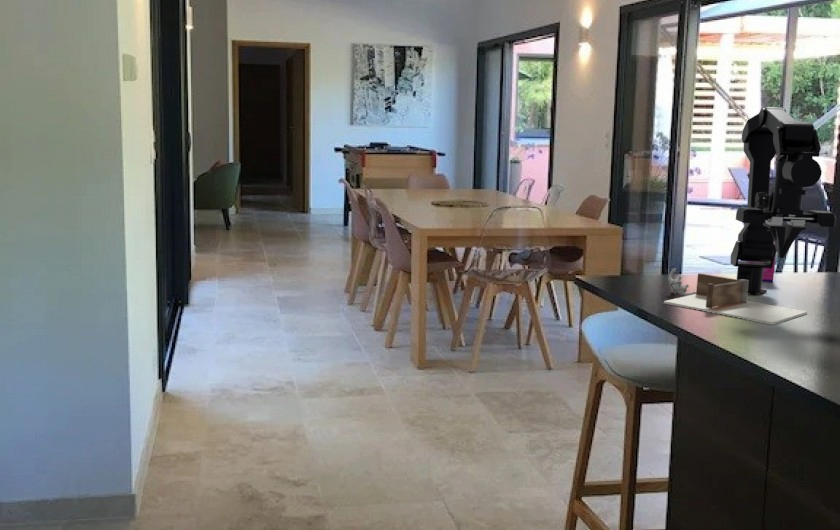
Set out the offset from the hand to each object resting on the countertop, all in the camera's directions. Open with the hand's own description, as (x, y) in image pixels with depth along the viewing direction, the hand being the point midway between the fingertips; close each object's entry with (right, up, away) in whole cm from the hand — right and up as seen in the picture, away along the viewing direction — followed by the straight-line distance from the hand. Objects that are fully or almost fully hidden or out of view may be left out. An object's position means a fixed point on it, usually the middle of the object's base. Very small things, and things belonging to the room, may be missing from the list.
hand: (780, 257), depth 184 cm
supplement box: (+11, -6, +42) cm, 44 cm away
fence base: (-8, -9, +12) cm, 17 cm away
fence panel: (-11, -10, +4) cm, 15 cm away
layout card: (-8, -11, +4) cm, 14 cm away
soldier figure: (-16, -8, +19) cm, 26 cm away
